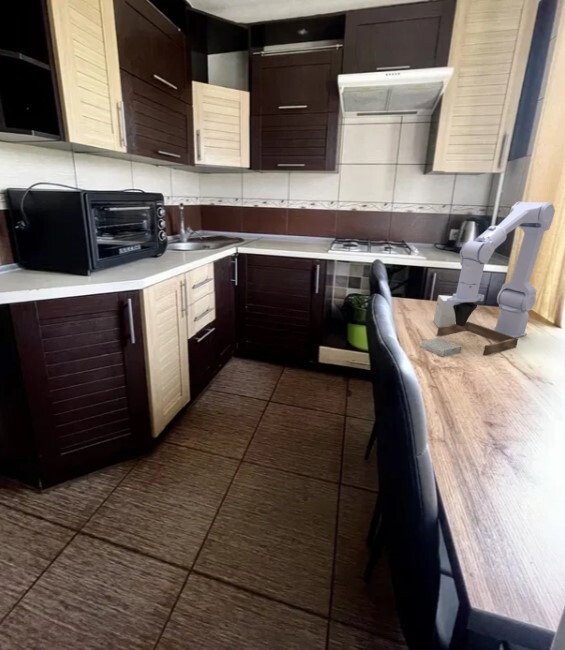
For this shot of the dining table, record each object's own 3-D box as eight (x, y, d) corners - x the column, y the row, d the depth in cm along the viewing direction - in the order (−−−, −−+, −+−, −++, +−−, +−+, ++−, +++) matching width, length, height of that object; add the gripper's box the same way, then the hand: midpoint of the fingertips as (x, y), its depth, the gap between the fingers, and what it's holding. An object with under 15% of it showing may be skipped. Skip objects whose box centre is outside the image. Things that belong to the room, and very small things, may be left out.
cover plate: (438, 344, 112) (439, 337, 111) (460, 353, 105) (461, 346, 104) (420, 348, 108) (422, 341, 107) (442, 358, 101) (443, 350, 101)
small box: (454, 329, 124) (460, 301, 120) (437, 328, 125) (443, 300, 121) (448, 322, 131) (454, 295, 127) (433, 321, 132) (438, 294, 128)
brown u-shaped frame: (466, 329, 124) (467, 321, 123) (515, 347, 110) (518, 338, 109) (436, 335, 118) (438, 327, 117) (485, 355, 103) (487, 346, 102)
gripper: (472, 277, 109) (463, 318, 114) (441, 281, 103) (433, 324, 107) (494, 282, 103) (484, 325, 108) (462, 287, 97) (452, 331, 101)
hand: (460, 325), depth 107 cm, fingers closed
